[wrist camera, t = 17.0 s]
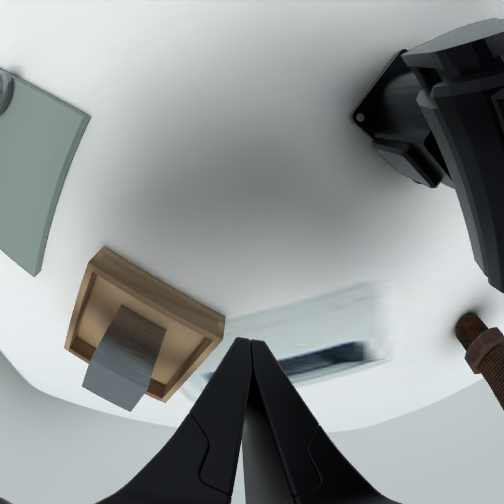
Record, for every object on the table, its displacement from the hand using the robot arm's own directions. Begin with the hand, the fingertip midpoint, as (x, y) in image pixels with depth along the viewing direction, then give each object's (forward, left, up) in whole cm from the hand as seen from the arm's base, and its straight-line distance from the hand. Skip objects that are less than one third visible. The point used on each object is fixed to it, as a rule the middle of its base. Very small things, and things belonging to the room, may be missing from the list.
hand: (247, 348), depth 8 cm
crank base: (+1, -22, -11) cm, 25 cm away
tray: (+12, -2, -11) cm, 17 cm away
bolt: (-4, +24, -11) cm, 27 cm away
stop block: (+12, -2, -10) cm, 16 cm away
